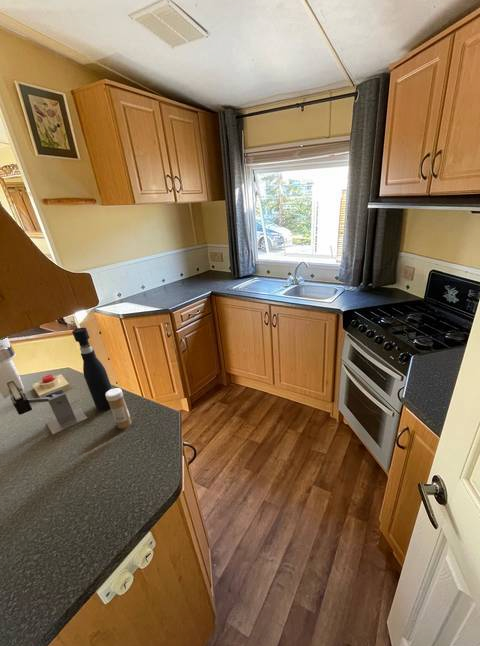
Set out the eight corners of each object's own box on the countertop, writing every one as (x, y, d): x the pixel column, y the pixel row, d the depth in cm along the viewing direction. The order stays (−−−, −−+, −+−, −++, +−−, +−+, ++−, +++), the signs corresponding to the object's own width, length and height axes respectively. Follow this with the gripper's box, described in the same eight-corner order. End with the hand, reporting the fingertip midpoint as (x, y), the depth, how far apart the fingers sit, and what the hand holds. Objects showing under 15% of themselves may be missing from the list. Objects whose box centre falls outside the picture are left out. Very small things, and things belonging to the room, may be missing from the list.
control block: (70, 388, 116) (67, 380, 114) (41, 400, 109) (36, 391, 107) (62, 378, 123) (59, 370, 121) (34, 388, 117) (30, 380, 115)
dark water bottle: (121, 405, 104) (94, 328, 91) (103, 415, 99) (73, 335, 86) (111, 399, 107) (84, 324, 94) (93, 409, 102) (63, 331, 89)
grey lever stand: (53, 437, 90) (38, 406, 85) (47, 426, 95) (33, 396, 90) (88, 420, 97) (76, 391, 92) (81, 410, 102) (69, 382, 97)
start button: (55, 380, 114) (53, 376, 114) (44, 384, 112) (43, 380, 111) (53, 377, 117) (51, 373, 116) (42, 381, 114) (40, 377, 114)
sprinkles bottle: (135, 421, 95) (124, 387, 89) (127, 431, 91) (116, 396, 85) (122, 421, 96) (110, 387, 90) (114, 430, 92) (101, 396, 86)
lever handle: (13, 409, 83) (14, 398, 83) (11, 404, 85) (12, 394, 85) (63, 405, 92) (64, 395, 92) (60, 401, 94) (61, 391, 94)
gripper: (-26, 351, 81) (4, 404, 89) (-20, 370, 71) (13, 428, 79) (8, 342, 86) (33, 393, 94) (18, 358, 75) (46, 414, 83)
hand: (24, 408), depth 86 cm, fingers closed on lever handle, 3 cm apart
